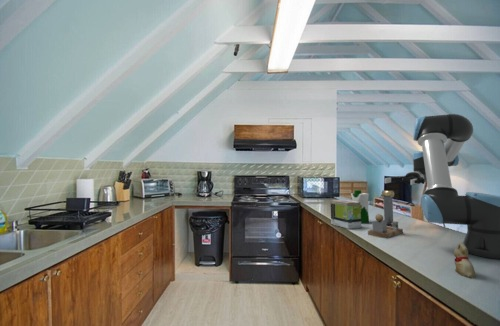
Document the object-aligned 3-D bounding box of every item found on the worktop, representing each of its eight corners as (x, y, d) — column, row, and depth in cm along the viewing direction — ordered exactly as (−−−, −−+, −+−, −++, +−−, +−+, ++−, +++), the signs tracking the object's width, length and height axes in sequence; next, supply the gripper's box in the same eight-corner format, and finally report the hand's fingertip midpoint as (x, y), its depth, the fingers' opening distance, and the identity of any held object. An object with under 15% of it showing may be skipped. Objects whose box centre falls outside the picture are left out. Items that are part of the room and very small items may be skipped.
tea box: (362, 227, 149) (361, 201, 150) (348, 229, 146) (347, 202, 146) (343, 222, 163) (342, 198, 164) (330, 224, 160) (329, 200, 160)
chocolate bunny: (477, 271, 85) (475, 240, 85) (474, 279, 79) (473, 246, 80) (455, 267, 89) (454, 237, 89) (451, 274, 83) (450, 242, 84)
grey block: (377, 230, 134) (376, 220, 135) (386, 231, 130) (386, 221, 130) (372, 231, 132) (372, 221, 132) (382, 233, 128) (382, 222, 128)
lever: (385, 221, 139) (384, 190, 140) (395, 223, 135) (394, 190, 136) (382, 222, 138) (381, 190, 138) (392, 224, 134) (391, 191, 134)
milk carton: (350, 221, 165) (349, 190, 165) (359, 220, 169) (358, 189, 170) (362, 224, 157) (361, 191, 158) (371, 222, 162) (370, 190, 162)
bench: (385, 229, 143) (385, 218, 143) (402, 232, 136) (402, 221, 136) (368, 234, 133) (367, 222, 133) (385, 238, 126) (385, 225, 126)
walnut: (384, 222, 129) (384, 215, 129) (376, 222, 130) (376, 214, 130) (382, 220, 133) (381, 213, 133) (374, 220, 133) (374, 213, 134)
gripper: (439, 185, 145) (423, 190, 133) (392, 183, 165) (375, 186, 153) (438, 172, 145) (423, 175, 132) (392, 171, 165) (374, 174, 152)
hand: (397, 181), depth 143 cm, fingers open, 13 cm apart
